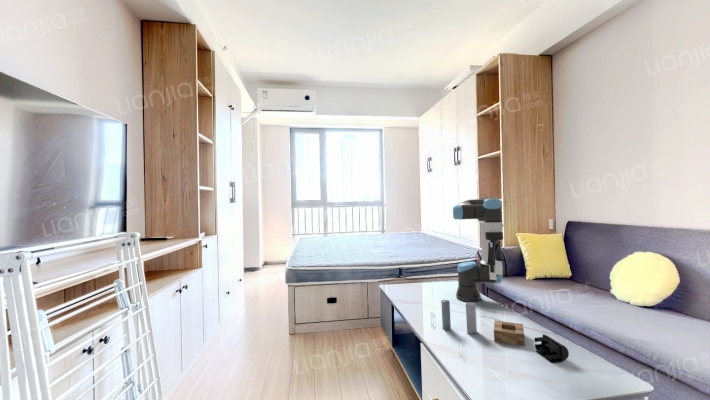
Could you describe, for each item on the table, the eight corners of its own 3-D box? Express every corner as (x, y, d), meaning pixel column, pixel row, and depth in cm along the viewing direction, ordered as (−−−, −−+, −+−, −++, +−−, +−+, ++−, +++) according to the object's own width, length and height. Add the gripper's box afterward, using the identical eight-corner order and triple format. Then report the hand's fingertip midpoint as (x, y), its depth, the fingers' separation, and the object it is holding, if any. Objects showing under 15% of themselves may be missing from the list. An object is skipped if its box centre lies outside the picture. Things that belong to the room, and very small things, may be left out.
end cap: (569, 362, 113) (568, 345, 113) (552, 364, 112) (551, 346, 112) (550, 349, 123) (549, 333, 123) (534, 351, 122) (533, 335, 122)
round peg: (443, 326, 150) (442, 299, 150) (451, 327, 148) (450, 300, 148) (441, 329, 146) (440, 301, 146) (450, 330, 144) (448, 302, 144)
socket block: (495, 330, 142) (494, 320, 142) (523, 334, 137) (522, 324, 137) (494, 341, 131) (493, 330, 132) (524, 346, 126) (524, 334, 126)
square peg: (468, 330, 144) (466, 301, 144) (476, 331, 142) (475, 302, 142) (467, 333, 141) (465, 304, 141) (476, 334, 139) (474, 305, 139)
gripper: (496, 232, 125) (499, 283, 123) (507, 230, 144) (510, 273, 143) (478, 232, 129) (481, 281, 128) (491, 230, 149) (493, 271, 148)
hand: (496, 277), depth 135 cm, fingers open, 13 cm apart
